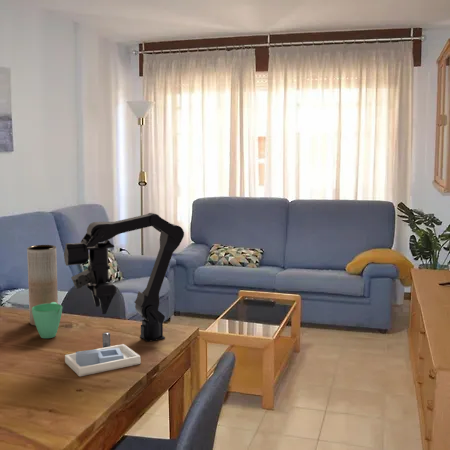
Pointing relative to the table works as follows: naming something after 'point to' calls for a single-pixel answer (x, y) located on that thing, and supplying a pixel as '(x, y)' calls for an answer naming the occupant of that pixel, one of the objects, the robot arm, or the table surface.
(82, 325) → the table surface
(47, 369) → the table surface
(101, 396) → the table surface
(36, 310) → the mug
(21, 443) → the table surface
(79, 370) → the tray
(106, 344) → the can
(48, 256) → the vase
